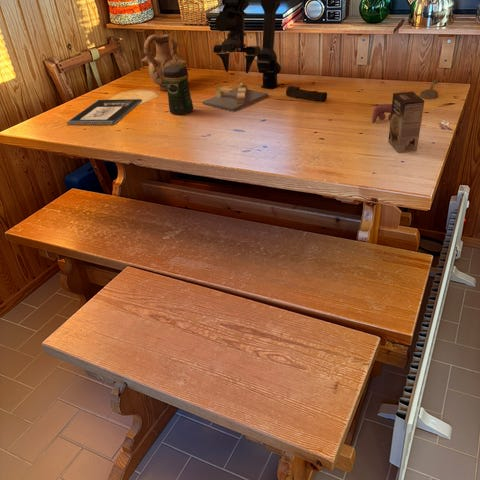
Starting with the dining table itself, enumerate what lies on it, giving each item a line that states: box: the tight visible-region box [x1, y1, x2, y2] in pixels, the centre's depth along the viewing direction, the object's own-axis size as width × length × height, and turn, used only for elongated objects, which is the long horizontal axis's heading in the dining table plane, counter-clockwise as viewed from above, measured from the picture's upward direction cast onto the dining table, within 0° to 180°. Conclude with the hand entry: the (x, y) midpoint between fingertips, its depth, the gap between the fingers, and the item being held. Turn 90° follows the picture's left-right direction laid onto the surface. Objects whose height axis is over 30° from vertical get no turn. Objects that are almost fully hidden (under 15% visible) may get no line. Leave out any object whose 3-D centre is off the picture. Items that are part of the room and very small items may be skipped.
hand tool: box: [285, 85, 328, 103], centre depth 192 cm, size 19×4×5 cm, turn 50°
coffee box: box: [387, 91, 425, 154], centre depth 143 cm, size 9×6×16 cm
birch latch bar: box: [237, 84, 248, 103], centre depth 198 cm, size 18×4×2 cm, turn 176°
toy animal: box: [371, 103, 392, 124], centre depth 164 cm, size 10×5×7 cm, turn 71°
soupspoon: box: [419, 79, 439, 100], centre depth 187 cm, size 22×3×7 cm
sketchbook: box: [66, 98, 143, 126], centre depth 200 cm, size 22×30×2 cm
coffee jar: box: [163, 65, 194, 115], centre depth 187 cm, size 10×8×19 cm
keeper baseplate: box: [202, 82, 269, 112], centre depth 197 cm, size 22×18×5 cm
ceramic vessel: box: [141, 33, 187, 91], centre depth 214 cm, size 18×19×25 cm
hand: (236, 72), depth 186 cm, fingers open, 9 cm apart
